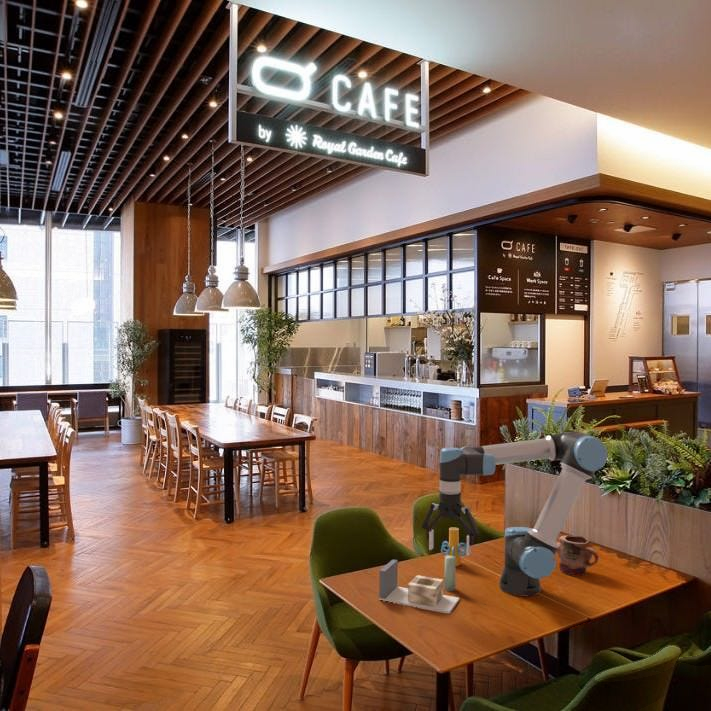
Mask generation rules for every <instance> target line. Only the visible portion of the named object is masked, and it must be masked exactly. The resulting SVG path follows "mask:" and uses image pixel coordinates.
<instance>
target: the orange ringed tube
mask: <svg viewBox="0 0 711 711" xmlns="http://www.w3.org/2000/svg"><path fill="white" fill-rule="evenodd" d="M459 530H460V528H458V527H449V528H448V541H447V540H444V541H443V542H442V544H441V548H440V552H441V554H442V555H444V556H454V557H455V558H456V561H455V567H459V566H461V564H462V563H461V562H462V557H465V556H466V555H467V543H466V542H459V540H460V538H459V533H460V532H459ZM446 547H447V549H446ZM461 548H462V550H461ZM444 551H445V552H444Z"/></svg>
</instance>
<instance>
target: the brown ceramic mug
mask: <svg viewBox="0 0 711 711" xmlns="http://www.w3.org/2000/svg"><path fill="white" fill-rule="evenodd" d="M557 545H558V549H557V551H556V553H555V554H557V555H558V556H559V563H558V564H559V569H560V571H561V572H562V573H563V572H564V574H565V573H567V574H566V575H568V574H570V575H569V576H571V575H575V577H577V575H578V576H582V575H584V574H585V573H586V571H587V569H589V568H591V567H593V566H594V565H595V564H597V563H598V561H599V555H598V553H597V551H596V550H595V549H593V548H592V547H591V546H590V545H591V544H590V542H589V540H588V539H587V538H585V537H583V536H580V535H578V536H577V535H567V534H566V535H562V536H560V537H558V540H557ZM592 557H594V562H590V561H591V559H592Z"/></svg>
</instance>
